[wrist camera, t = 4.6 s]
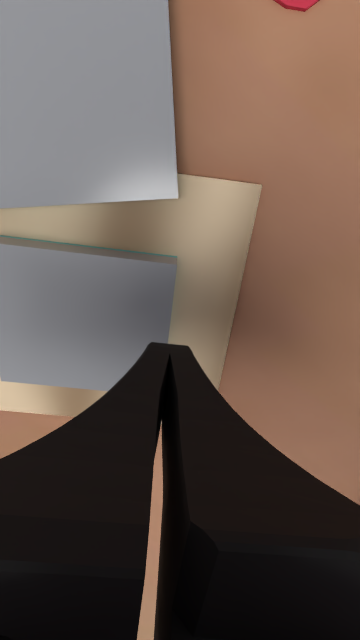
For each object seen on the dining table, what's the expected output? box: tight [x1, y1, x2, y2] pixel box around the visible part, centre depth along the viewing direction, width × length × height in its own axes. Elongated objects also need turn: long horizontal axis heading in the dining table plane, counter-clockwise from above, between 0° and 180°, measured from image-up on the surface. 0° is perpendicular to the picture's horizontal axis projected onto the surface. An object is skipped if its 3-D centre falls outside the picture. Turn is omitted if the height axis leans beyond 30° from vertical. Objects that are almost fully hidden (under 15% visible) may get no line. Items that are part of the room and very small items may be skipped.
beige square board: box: [0, 173, 262, 425], centre depth 13 cm, size 12×12×1 cm
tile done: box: [0, 0, 178, 209], centre depth 10 cm, size 7×6×1 cm
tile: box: [0, 235, 177, 391], centre depth 13 cm, size 1×6×7 cm
